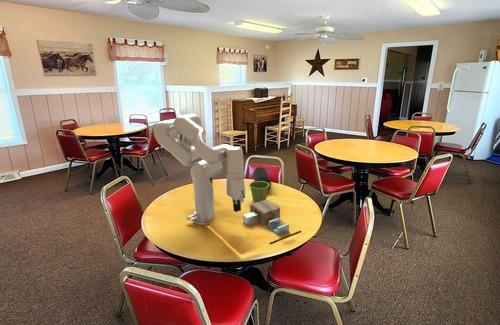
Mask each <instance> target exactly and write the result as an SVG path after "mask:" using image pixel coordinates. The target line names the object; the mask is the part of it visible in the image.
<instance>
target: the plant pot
mask: <svg viewBox="0 0 500 325" xmlns="http://www.w3.org/2000/svg"><path fill="white" fill-rule="evenodd" d="M269 185H270V184H269V183H267V182H264V181H252V182H249V184H248V187H249V188H250V192H251V197H252V202H253V203H257V202H260V201H263V200H267V196H268V191H269V190H268V187H269Z"/></svg>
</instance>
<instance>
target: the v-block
mask: <svg viewBox="0 0 500 325" xmlns="http://www.w3.org/2000/svg"><path fill="white" fill-rule="evenodd" d="M280 219H281V218H280ZM280 219H279V218H276V219H273V220H271V221H268V224H267V225H268V226H267V228H268V229H269V230H271V231H272V232H273V233H275V234H276V235H278V236H281V235H283V234H286V233H288V232H290V224H289V223H284V224H282V223H281V220H280ZM300 233H302V230H299V231H296V232H294V233H290V234H288V235H285V236H284V237H280V238H278V239H276V240H273V241H271V242H269V244H270V245H273V244H276V243H278V242H281V241H282V240H285V239H288V238H290V237H294V236H296V235H298V234H300Z"/></svg>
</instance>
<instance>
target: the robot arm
mask: <svg viewBox="0 0 500 325" xmlns="http://www.w3.org/2000/svg"><path fill="white" fill-rule="evenodd" d="M152 131H153V136H154V138H155V140H156V142H157V143H158V144H159V145H160V146H161V147H162V148H163V149H165V150H166V151H167V152H169V153H170V154H171V155H172V156H173V157H174V158H175V159H177V161H179V163H180V164H182V165H183V166H185V167H190V169H189V170H190V175H191V176H190V177H191V180H192V184H193V195H194V208H195V211H193V213H192V214H191V215H188V216H186V220H187V221H190V220H191V222H193V223H195V224H196V225H198V226H199V225H200V226H207V225H209V223H208V222H210V221H212V220H213V219H215V216H216V215H215V200H214V186H213V183H211V182H210V179H209V178H210V177H212V178H213V177H214V176H216V175H218V174H220V173H221V172H222V170H223V164H222V162H225V161H226V195H227V196H228V197H230V198H231V199H232V200H231V201H232V203H233V204H232V207H233V208H232V209H233V212H234V213H237V212H240V211H242V203H244V202H245V198H246V186H245V185H246V184H245V180H244V179H245V178H244V176H245V175H244V152H243V148H242V147H241V146H237V145H235V146H232V145H231V144H230V145H229V144H226V143H223V144H220V145H216V146H213V147H210V146H209V145H207V144H206V143H205V142H204V140H205V138H206V136H207V131H206V129H205V128H203V127H202V119H201V118H200V116H199V115H198V114H196V113H188V114H187V113H186V114H181V115H178V116H176V118H172V119H165V120H162V121H159V122H157V123H156V124H154V126H153V130H152ZM178 135H182V136H183V137H184V138H186V139H187V140H188V141H189V142H191V143H192V144H193V145H188V144H186V143H185V142H184V141H183V140H182V139H179V138H177V137H175V136H178Z"/></svg>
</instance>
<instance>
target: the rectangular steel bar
mask: <svg viewBox="0 0 500 325" xmlns="http://www.w3.org/2000/svg"><path fill="white" fill-rule="evenodd" d="M259 221H260V213H259V212H257V211H254V212H251V213H250V212H248V213H244V214H242V223H243V224H245V225H246V227H247V226H250V225H254V224H256V223H260V222H259Z"/></svg>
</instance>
